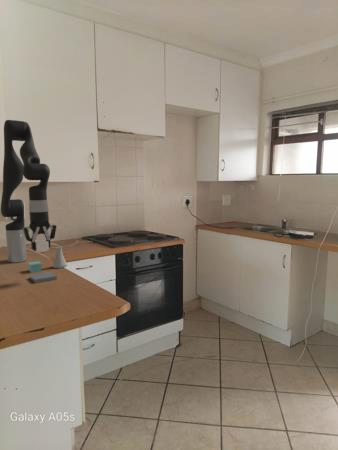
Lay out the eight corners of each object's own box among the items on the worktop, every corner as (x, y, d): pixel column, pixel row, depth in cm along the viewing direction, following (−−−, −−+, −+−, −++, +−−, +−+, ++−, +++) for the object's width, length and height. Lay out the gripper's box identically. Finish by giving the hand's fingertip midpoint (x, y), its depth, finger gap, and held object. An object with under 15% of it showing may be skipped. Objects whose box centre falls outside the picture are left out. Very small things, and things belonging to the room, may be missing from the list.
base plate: (29, 278, 145) (29, 274, 145) (50, 274, 150) (49, 271, 150) (35, 283, 138) (35, 279, 138) (56, 279, 143) (56, 275, 143)
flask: (52, 265, 167) (51, 246, 165) (67, 264, 169) (66, 245, 168) (52, 269, 160) (51, 249, 159) (67, 267, 162) (66, 248, 161)
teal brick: (28, 270, 158) (28, 262, 157) (39, 269, 161) (38, 261, 160) (30, 273, 154) (30, 264, 153) (41, 271, 157) (41, 263, 156)
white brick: (33, 250, 143) (33, 241, 142) (45, 248, 146) (44, 240, 145) (37, 252, 139) (36, 243, 138) (49, 250, 142) (48, 241, 141)
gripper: (52, 209, 147) (54, 246, 150) (18, 211, 139) (21, 250, 141) (58, 210, 141) (60, 248, 144) (23, 212, 133) (26, 253, 135)
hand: (41, 249), depth 142 cm, fingers closed on white brick, 5 cm apart
